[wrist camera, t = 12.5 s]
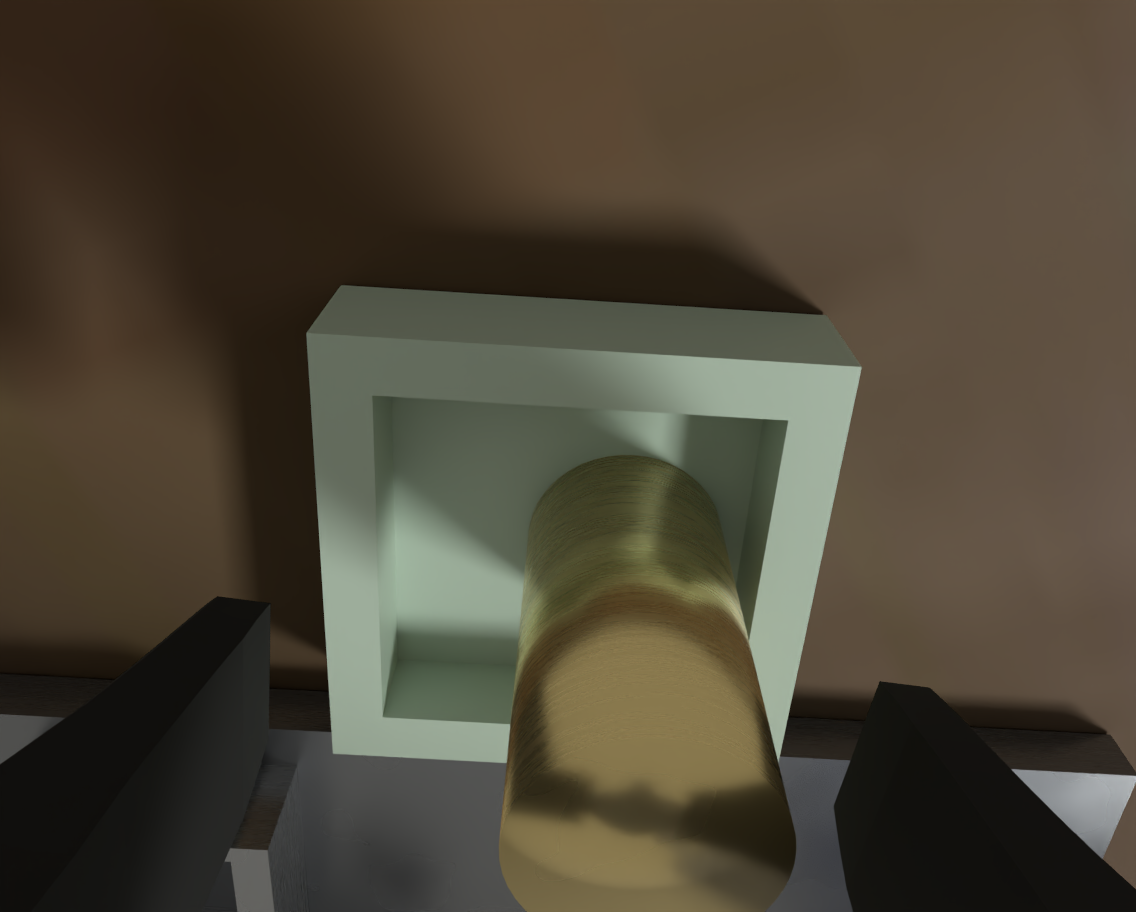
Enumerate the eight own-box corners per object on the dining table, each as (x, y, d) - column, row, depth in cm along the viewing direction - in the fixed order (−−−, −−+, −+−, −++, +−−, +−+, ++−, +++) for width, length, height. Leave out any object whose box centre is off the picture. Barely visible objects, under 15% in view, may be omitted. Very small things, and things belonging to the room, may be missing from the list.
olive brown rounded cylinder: (745, 474, 15) (837, 770, 9) (693, 633, 16) (749, 971, 11) (547, 438, 15) (527, 719, 9) (512, 602, 16) (478, 932, 11)
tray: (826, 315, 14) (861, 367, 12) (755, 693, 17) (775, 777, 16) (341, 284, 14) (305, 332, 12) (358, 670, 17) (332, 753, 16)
